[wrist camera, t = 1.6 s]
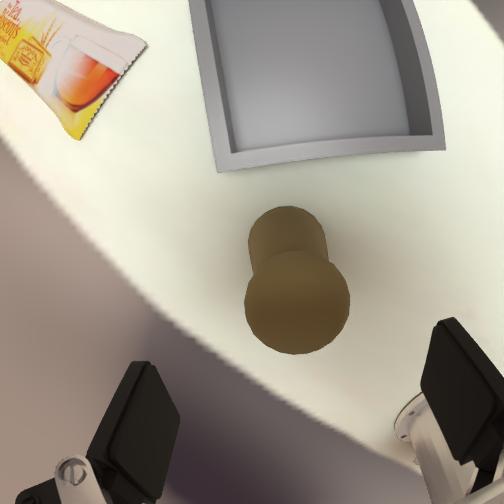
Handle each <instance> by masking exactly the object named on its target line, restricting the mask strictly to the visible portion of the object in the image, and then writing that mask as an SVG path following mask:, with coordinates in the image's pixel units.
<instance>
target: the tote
mask: <svg viewBox="0 0 504 504" xmlns="http://www.w3.org/2000/svg"><path fill="white" fill-rule="evenodd" d="M189 7H190V14H191V20H192V27H193V33H194V40H195V46H196V52H197V58H198V65H199V71H200V77H201V83H202V89H203V95H204V101H205V106H206V112H207V118H208V124H209V129H210V135H211V141H212V146H213V152H214V157H215V163H216V168H217V173H221V172H227V171H232V170H238V169H244V168H250V167H257V166H263V165H270V164H277V163H284V162H292V161H300V160H308V159H317V158H326V157H335V156H346V155H358V154H371V153H386V152H405V151H438V150H446V144H445V135H444V126H443V119H442V112H441V106H440V100H439V94H438V89H437V84H436V79H435V74H434V70H433V65H432V61H431V57H430V53H429V49H428V46H427V42H426V39H425V35H424V32H423V29H422V26H421V22H420V19H419V16H418V13H417V11H416V8H415V5H414V2H413V0H189Z"/></svg>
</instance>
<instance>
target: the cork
mask: <svg viewBox="0 0 504 504" xmlns="http://www.w3.org/2000/svg"><path fill="white" fill-rule="evenodd" d="M248 245H249V254H250V259H251V264H252V269H253V274H254V276H253V277H252V278H251V280H250V281H249V284H248V288H247V292H246V295H245V300H244V306H245V315H246V319H247V322H248V324H249V326H250V328H251V330H252V332H253V334H254V335H255V336H256V337H257V338H258V339H259V340H260V341H261V342H262V343H264V344H265V345H266V346H268V347H270V348H272V349H274V350H276V351H278V352H281V353H287V354H292V355H295V354H307V353H310V352H313V351H316V350H319V349H321V348H323V347H324V346H326V345H327V344H329V343H330V342H332V341H333V340H334V338H335V337H336V336H337V335H338V334H339V333H340V332H341V330H342V329H343V327H344V325H345V323H346V320H347V318H348V316H349V307H350V294H349V291H348V287H347V284H346V281H345V279H344V277H343V276H342V275H341V273H340V272H339V271H338V269H337V268H336V267H335V266H334V264H332V263H330V262H329V259H328V253H327V247H326V240H325V235H324V232H323V230H322V227H321V225H320V223H319V222H318V221H317V220H316V218H315V217H314V216H313V215H311V214H310V213H308V212H307V211H305V210H304V209H300V208H297V207H293V206H285V207H277V208H274V209H272V210H269V211H267V212H266V213H264V214H263V215H262V216H261V217H260V218H258V219H257V221H256V222H255V224H254V225H253V227H252V229H251V231H250V235H249V239H248Z"/></svg>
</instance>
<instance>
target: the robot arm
mask: <svg viewBox="0 0 504 504" xmlns="http://www.w3.org/2000/svg"><path fill="white" fill-rule="evenodd" d="M420 386H421V390H422V392H423V393H422V394H420V395H419V396H418V397H416V398H415V399H414V400H413V401H412V402H411V403H410V404H408V405H407V406H406V408H405V409H404V410H403V411H402V412H401V414H400V415H399V417H398V418H397V421H396V423H395V432H396V435H397V437H398V439H400V440H401V441H403V442H408V443H412V445H413V448H414V451H415V456H414V459H413V462H414V463H415V464H416V465H420V468H421V471H422V474H423V477H424V481H425V484H426V486H427V490H428V493H429V497H430V500H431V503H432V504H504V378H503V376H502V375H501V374H500V372H499V371H498V370H497V368H496V367H495V366H494V364H493V363H492V362H491V360H490V359H489V358H488V357H487V355H486V354H485V353H484V352H483V350H482V349H481V348H480V347H479V346H478V344H477V343H476V342H475V341H474V339H473V338H472V337H471V336H470V335H469V333H468V332H467V331H466V330H465V329H464V328H463V326H462V325H461V324H460V323H459V322H458V321H457V320H456V319H455V318H454V317H451V318H447V319H444V320H440V321H438V323H437V325H436V326H435V327H434V328H433V331H432V336H431V341H430V345H429V350H428V354H427V358H426V362H425V366H424V370H423V374H422V378H421V382H420ZM179 424H180V415H179V413H178V411H177V409H176V407H175V405H174V403H173V401H172V399H171V397H170V396H169V393H168V391H167V389H166V388H165V385H164V383H163V381H162V379H161V377H160V375H159V373H158V371H157V369H156V367H155V366H154V365H151V363H150V362H148V361H133V362H131V364H130V365H129V367H128V369H127V371H126V373H125V375H124V377H123V379H122V381H121V383H120V385H119V386H118V388H117V390H116V392H115V394H114V396H113V398H112V401H111V402H110V404H109V406H108V408H107V410H106V412H105V415H104V417H103V419H102V421H101V423H100V425H99V427H98V429H97V431H96V433H95V435H94V438H93V440H92V442H91V444H90V446H89V449H88V451H87V455H86V457H83V456H81V455H74V454H73V455H69V456H67V457H65V458H63V459H62V460H61V461H60V462H59V463H58V464H57V466H56V468H55V472H54V475H55V478H52V479H50V480H48V481H45V482H43V483H41V484H38V485H36V486H33V487H31V488H28V489H26V490H24V491H22V492H21V493H20V494H19V495H18V496H17V498H16V502H15V504H142V503H145V504H155V503H156V499H159V498H160V497H161V495H162V491H163V487H164V483H165V479H166V475H167V471H168V467H169V463H170V459H171V455H172V451H173V447H174V443H175V440H176V436H177V432H178V428H179Z"/></svg>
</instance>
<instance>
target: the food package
mask: <svg viewBox="0 0 504 504" xmlns="http://www.w3.org/2000/svg"><path fill="white" fill-rule="evenodd" d="M145 46H147V45H146V44H145V42H144V41H143V40H142V39H140V38H139V37H137V36H135V35H132V34H128V33H124V32H119V31H116V30H113V29H111V28H108V27H106V26H104V25H102V24H100V23H98V22H96V21H94V20H92V19H90V18H87V17H85V16H83V15H81V14H79V13H77V12H75V11H73V10H71V9H69V8H68V7H66V6H64V5H62V4H60V3H58V2H56V1H54V0H0V59H1V60H2V61H4V62H5V63H6V64H7V65H8V66H9V67H10V68H11V69H12V70H13V71H14V72H15V73H16V74H17V75H18V76H19V77H20V78H21V79H23V80H24V81H25V82H26V83H27V84H28V85H29V86H30V87H31V88H32V89H33V90H34V91H35V92H36V94H37V95H38V96H39V97H40V98H41V99H42V100H43V101H44V102H45V103H46V104H47V105H48V106H49V108H50V109H51V110H52V111H53V112H54V113H55V114H56V116H57V117H58V119H59V120H60V122H61V124H62V126H63V127H64V129H65V131H66V132H67V133H68V134H69V135H70V136H71V137H72V138H74V139H75V140H79V141H80V139H79V138H81V135H83V134H82V133H84V130H86V127H88V123H89V122H91V118H93V117H94V113H97V109H98V108H100V105H101V104H102V103H103V102H104V99H105V98H107V94H109V93H110V90H111V89H113V88H114V85H115V84H117V80H119V79H120V78H121V75H123V74H124V71H125V70H127V69H128V66H129V65H131V64H132V61H134V60H135V58H136V57H137V56H138V54H140V51H142V49H145V48H144V47H145Z"/></svg>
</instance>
